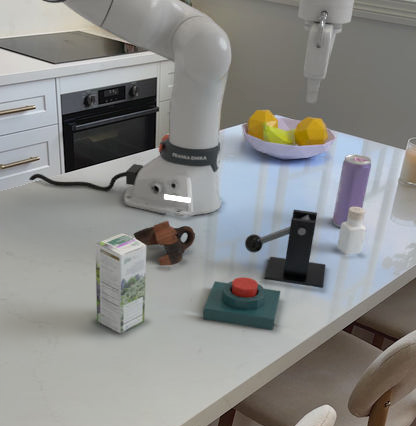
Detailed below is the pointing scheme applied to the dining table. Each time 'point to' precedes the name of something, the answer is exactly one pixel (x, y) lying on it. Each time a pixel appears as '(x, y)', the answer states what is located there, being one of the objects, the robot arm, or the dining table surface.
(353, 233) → the pepper shaker
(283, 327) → the dining table surface
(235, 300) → the teal base plate
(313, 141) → the fruit bowl
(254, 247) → the lever handle
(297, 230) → the lever stand
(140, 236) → the brown clay jug
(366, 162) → the beverage can
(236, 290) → the button
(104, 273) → the syrup box
